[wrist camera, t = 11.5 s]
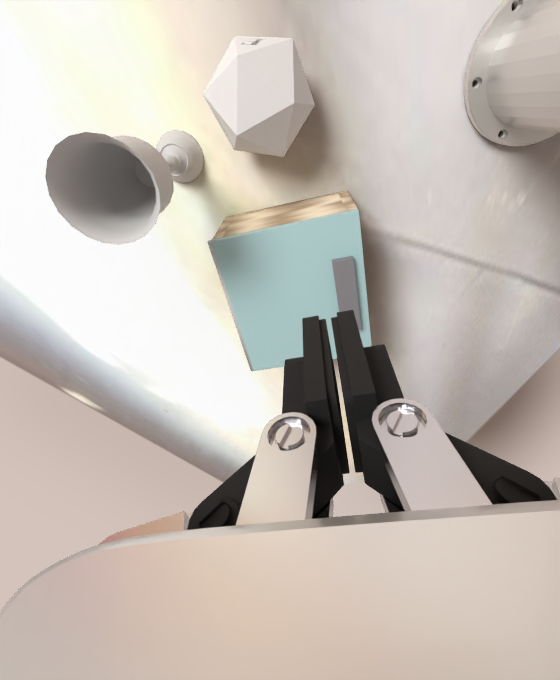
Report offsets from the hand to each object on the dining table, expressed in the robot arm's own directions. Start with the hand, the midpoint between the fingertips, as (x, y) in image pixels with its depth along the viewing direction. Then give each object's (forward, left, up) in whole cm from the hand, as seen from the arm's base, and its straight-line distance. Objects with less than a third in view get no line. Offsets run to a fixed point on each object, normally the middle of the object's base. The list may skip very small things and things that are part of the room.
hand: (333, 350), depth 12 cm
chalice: (+13, -5, -32) cm, 35 cm away
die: (+3, -8, -32) cm, 33 cm away
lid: (+3, +10, -24) cm, 26 cm away
